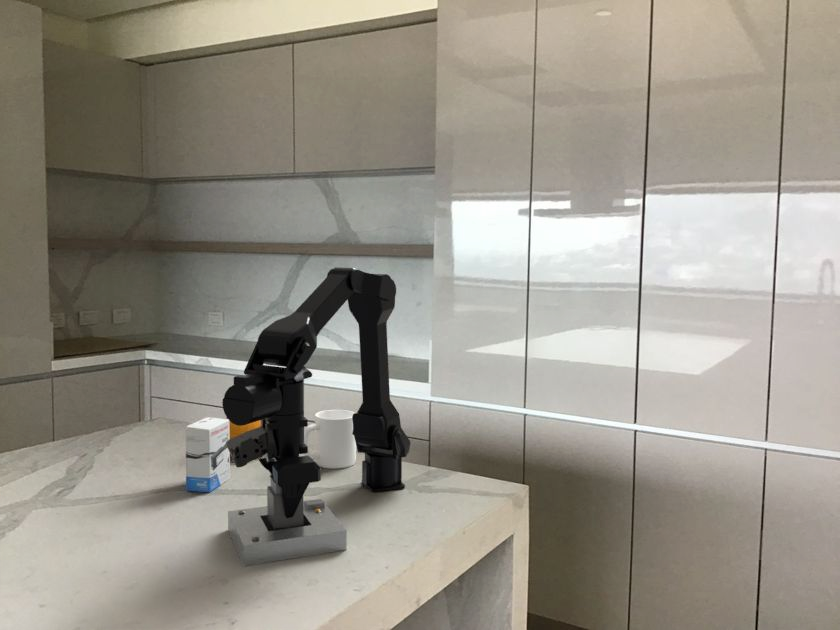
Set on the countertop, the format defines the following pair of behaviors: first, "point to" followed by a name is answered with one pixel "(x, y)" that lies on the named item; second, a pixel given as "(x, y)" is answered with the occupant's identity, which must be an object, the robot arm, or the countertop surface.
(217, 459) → the ink box
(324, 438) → the cup
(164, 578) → the countertop surface
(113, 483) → the countertop surface
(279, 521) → the plug
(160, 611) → the countertop surface
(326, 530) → the faceplate
